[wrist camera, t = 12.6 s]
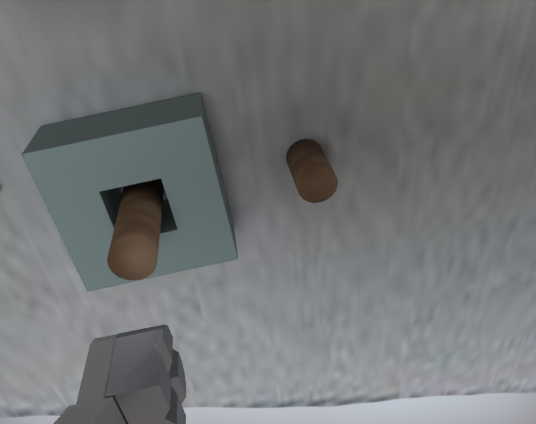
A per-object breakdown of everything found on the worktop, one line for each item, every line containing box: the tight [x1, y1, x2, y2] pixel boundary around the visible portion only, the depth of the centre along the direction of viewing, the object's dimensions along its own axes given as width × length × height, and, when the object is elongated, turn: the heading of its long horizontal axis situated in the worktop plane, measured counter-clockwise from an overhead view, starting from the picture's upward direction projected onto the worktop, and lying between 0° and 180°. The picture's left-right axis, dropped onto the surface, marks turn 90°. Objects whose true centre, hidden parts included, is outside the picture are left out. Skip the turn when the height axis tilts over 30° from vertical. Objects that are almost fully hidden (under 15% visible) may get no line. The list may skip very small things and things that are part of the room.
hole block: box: [22, 93, 238, 292], centre depth 38 cm, size 12×12×5 cm
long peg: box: [107, 179, 164, 281], centre depth 36 cm, size 3×3×11 cm
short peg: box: [286, 139, 337, 203], centre depth 39 cm, size 3×3×5 cm
